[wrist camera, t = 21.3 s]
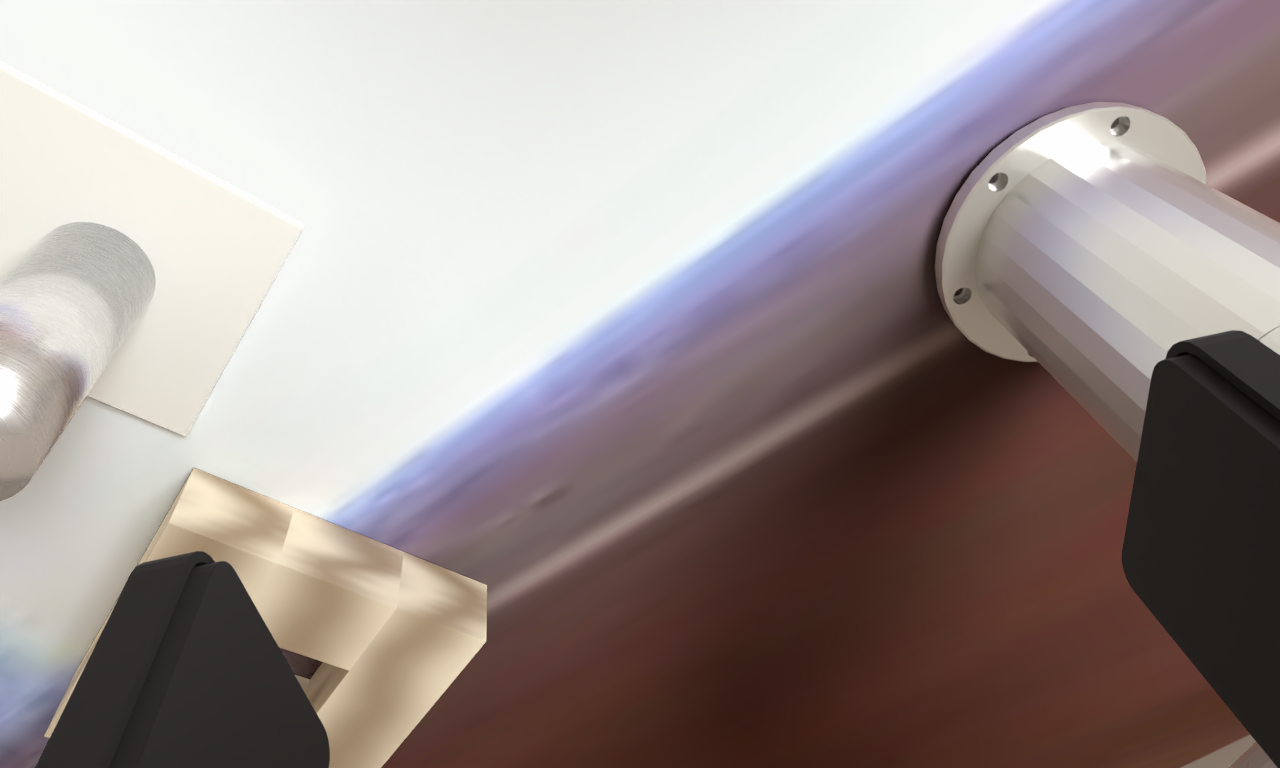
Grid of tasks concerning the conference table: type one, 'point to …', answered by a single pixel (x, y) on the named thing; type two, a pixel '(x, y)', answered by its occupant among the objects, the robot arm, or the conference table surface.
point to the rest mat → (142, 241)
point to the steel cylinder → (62, 335)
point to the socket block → (334, 611)
